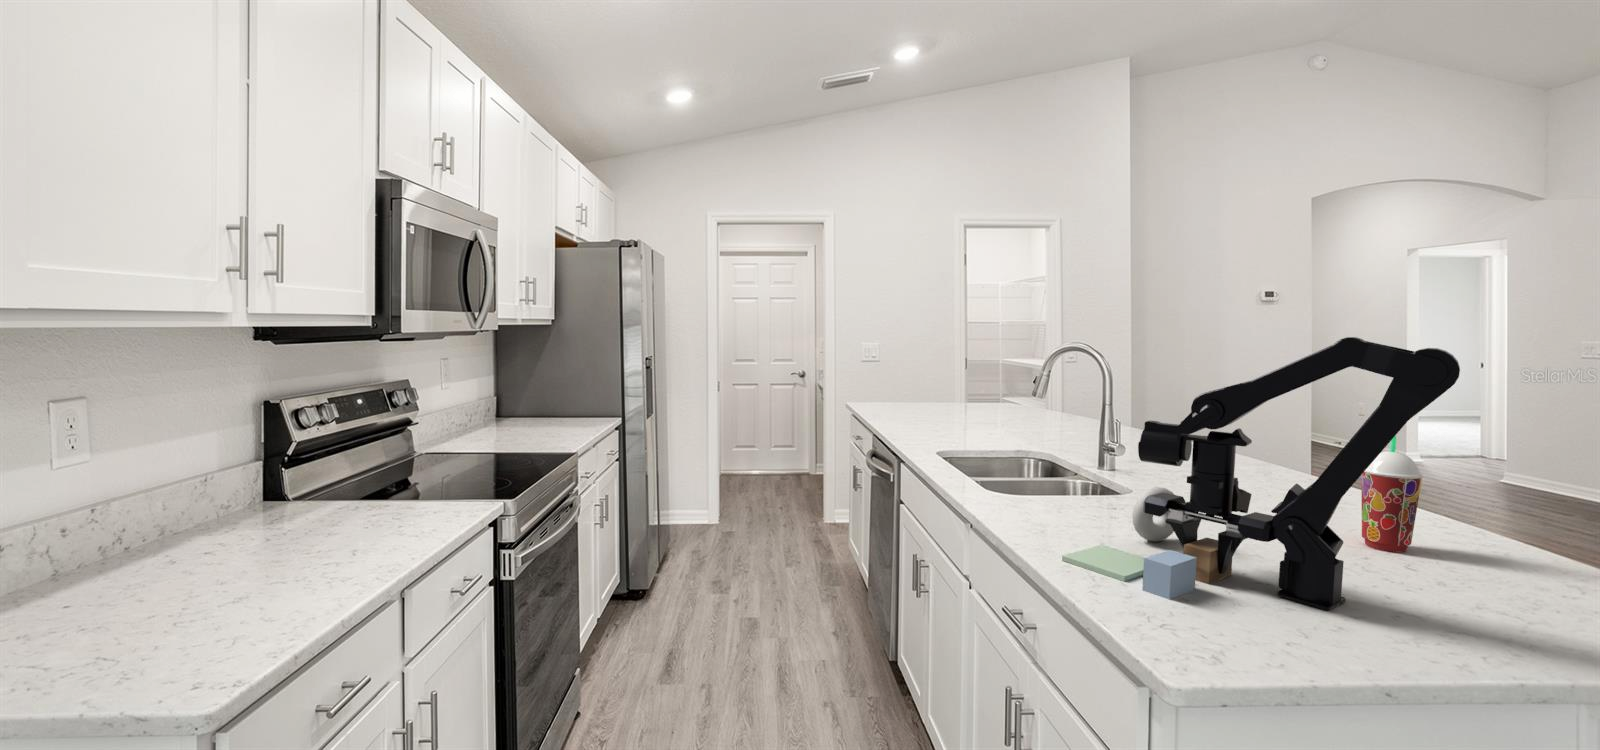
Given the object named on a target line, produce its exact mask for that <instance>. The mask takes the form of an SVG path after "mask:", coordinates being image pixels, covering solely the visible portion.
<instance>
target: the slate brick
mask: <svg viewBox="0 0 1600 750" xmlns="http://www.w3.org/2000/svg"><path fill="white" fill-rule="evenodd" d="M1196 560H1197V557H1193V556H1190V555H1186V554H1183V552H1178V551H1175V550H1171V549H1168V550H1165V551H1163V552H1159V553H1156V554H1152V555H1149V556H1147V557H1145V558H1144V570H1143V575H1142V589H1141V590H1142V591H1143V592H1146V593H1149V594H1152V595H1154V596H1157V597H1160V598H1164V599H1167V600H1171V599H1174V598H1177V597H1179V596H1182V595H1185V594H1187V593H1190V592H1193V591H1195V589H1196V580H1195V577H1196Z"/></svg>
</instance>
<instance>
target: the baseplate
mask: <svg viewBox="0 0 1600 750" xmlns="http://www.w3.org/2000/svg"><path fill="white" fill-rule="evenodd" d="M1061 556H1062V557H1061V561H1063V562H1064V563H1069V564H1072V565H1074V566H1077V567H1080V568H1082V569H1083V568H1084V569H1085V570H1086V569H1087V570H1090V571H1091V572H1095V573H1098V574H1101V575H1104V576H1107V577H1110V578H1113V579H1116V580H1119V581H1121V582H1126V581H1130V580H1132V579H1135V578H1138V577H1142V576H1143V570H1144V558H1146V557H1144V556H1141V555H1138V554H1135V553H1131V552H1127V551H1125V550H1121V549H1117V548H1115V547H1110V546H1108V545H1105V544H1100V545H1095V546H1092V547H1089V548H1086V549H1081V550H1078V551H1074V552H1071V553H1070V552H1069V553H1067V554H1064V555H1061Z"/></svg>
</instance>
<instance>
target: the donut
mask: <svg viewBox="0 0 1600 750" xmlns="http://www.w3.org/2000/svg"><path fill="white" fill-rule="evenodd" d="M1158 493H1168V494H1173V495H1175V493H1173V491H1171V490H1169V489H1168V488H1166V487H1162V486H1153V487H1151V488H1148V489H1146V490H1144V491H1143V492H1142V493H1141V494H1140V495H1139V496H1138V498H1136V501H1135V503H1134V505H1133V509H1132V514H1131V515H1132V518H1131V519H1132V525H1133V527H1134V528H1133V529H1134V530H1135V531H1136V533H1137V534H1138V535H1139V536H1140V537H1141V538H1142V539H1144V540H1147V541H1148V542H1149V541H1150V542H1156V543H1157V542H1160V541H1163V540H1166V539H1168V538H1169V537H1170V536H1171V535H1172V534H1173V533H1175V532H1174V530H1173V528H1172V527H1171V525H1170V524H1167V523H1166V522H1165V520H1166V519H1168V511H1167V513H1165V514H1164V515H1163V516H1160V517H1159V516H1157V519H1156V520H1155V521H1154V515H1151V514H1147V513H1144V512H1143V506H1144V501H1145V499H1146V498H1147V497H1148V496H1150V495H1154V494H1158Z"/></svg>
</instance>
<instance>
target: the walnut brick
mask: <svg viewBox="0 0 1600 750" xmlns="http://www.w3.org/2000/svg"><path fill="white" fill-rule="evenodd" d="M1182 551H1183V552H1182V554H1186V555H1190V556H1193V557H1197V560H1196V577H1195V581H1198V582H1200V583H1203V584H1207V585H1210V584H1212V583H1215V582H1218V581H1221V580H1223V579H1225V578H1228V577H1231V576H1232V569H1233V558H1232V559H1231V561H1230V563H1229V565H1228V567H1227V569H1226V571H1225V573H1223V574H1219V571H1218V539H1214V538H1211V537H1204V538H1201V539H1197V541H1194V542H1191V543H1188V544H1185V545H1184V549H1183V548H1182Z"/></svg>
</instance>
